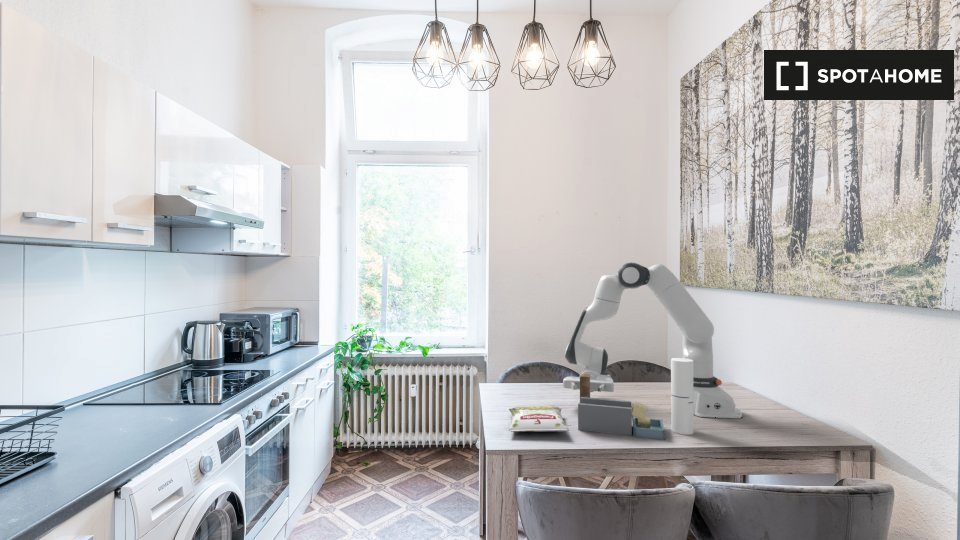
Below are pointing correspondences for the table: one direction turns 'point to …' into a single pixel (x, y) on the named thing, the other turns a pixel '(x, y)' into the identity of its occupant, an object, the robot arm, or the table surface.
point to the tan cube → (639, 410)
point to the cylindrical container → (682, 396)
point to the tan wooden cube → (644, 422)
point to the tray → (654, 432)
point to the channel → (605, 415)
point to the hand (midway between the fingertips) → (586, 388)
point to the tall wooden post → (585, 385)
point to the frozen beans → (537, 419)
